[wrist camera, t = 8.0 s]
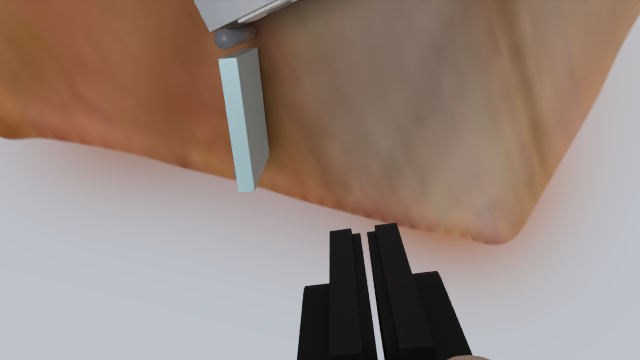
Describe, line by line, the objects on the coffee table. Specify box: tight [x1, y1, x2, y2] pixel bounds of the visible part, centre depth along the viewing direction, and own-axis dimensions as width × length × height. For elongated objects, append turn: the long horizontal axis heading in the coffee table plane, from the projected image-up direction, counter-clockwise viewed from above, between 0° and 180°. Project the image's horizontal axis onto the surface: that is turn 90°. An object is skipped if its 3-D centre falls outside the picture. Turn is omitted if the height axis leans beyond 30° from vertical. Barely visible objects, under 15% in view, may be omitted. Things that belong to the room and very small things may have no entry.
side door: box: [218, 47, 270, 192], centre depth 27 cm, size 8×2×7 cm, turn 4°
